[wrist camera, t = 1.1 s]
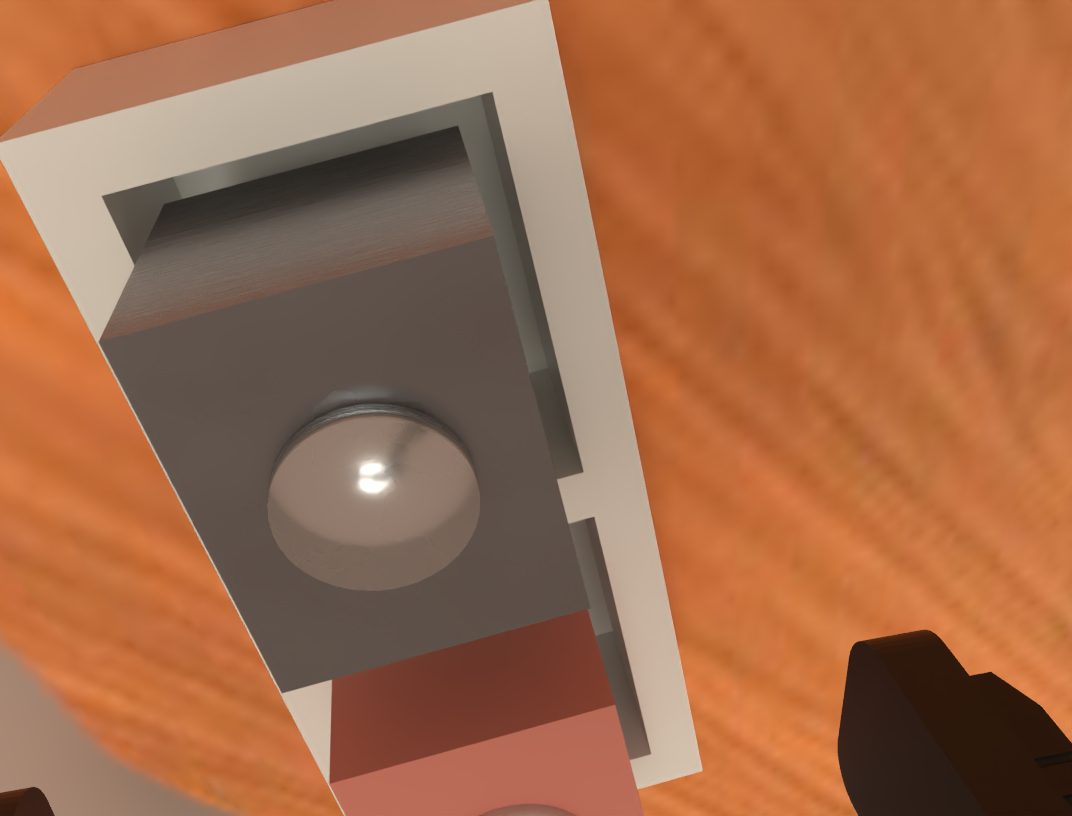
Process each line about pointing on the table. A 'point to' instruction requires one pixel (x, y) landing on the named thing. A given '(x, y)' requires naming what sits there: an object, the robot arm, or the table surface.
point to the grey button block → (349, 409)
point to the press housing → (513, 212)
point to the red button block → (485, 730)
